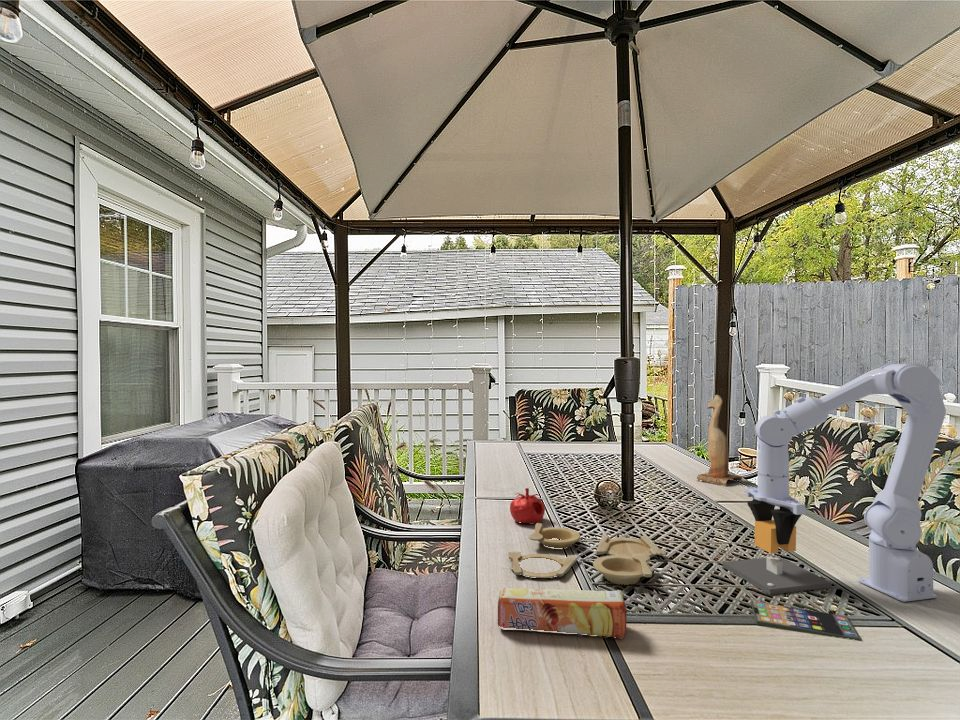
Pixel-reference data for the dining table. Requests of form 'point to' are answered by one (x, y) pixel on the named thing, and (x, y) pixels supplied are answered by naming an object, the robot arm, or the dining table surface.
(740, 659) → the dining table surface
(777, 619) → the smartphone
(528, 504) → the pomegranate
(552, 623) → the snack package
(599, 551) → the tableware set
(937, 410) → the robot arm
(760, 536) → the orange block
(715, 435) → the bird sculpture
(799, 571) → the plate
